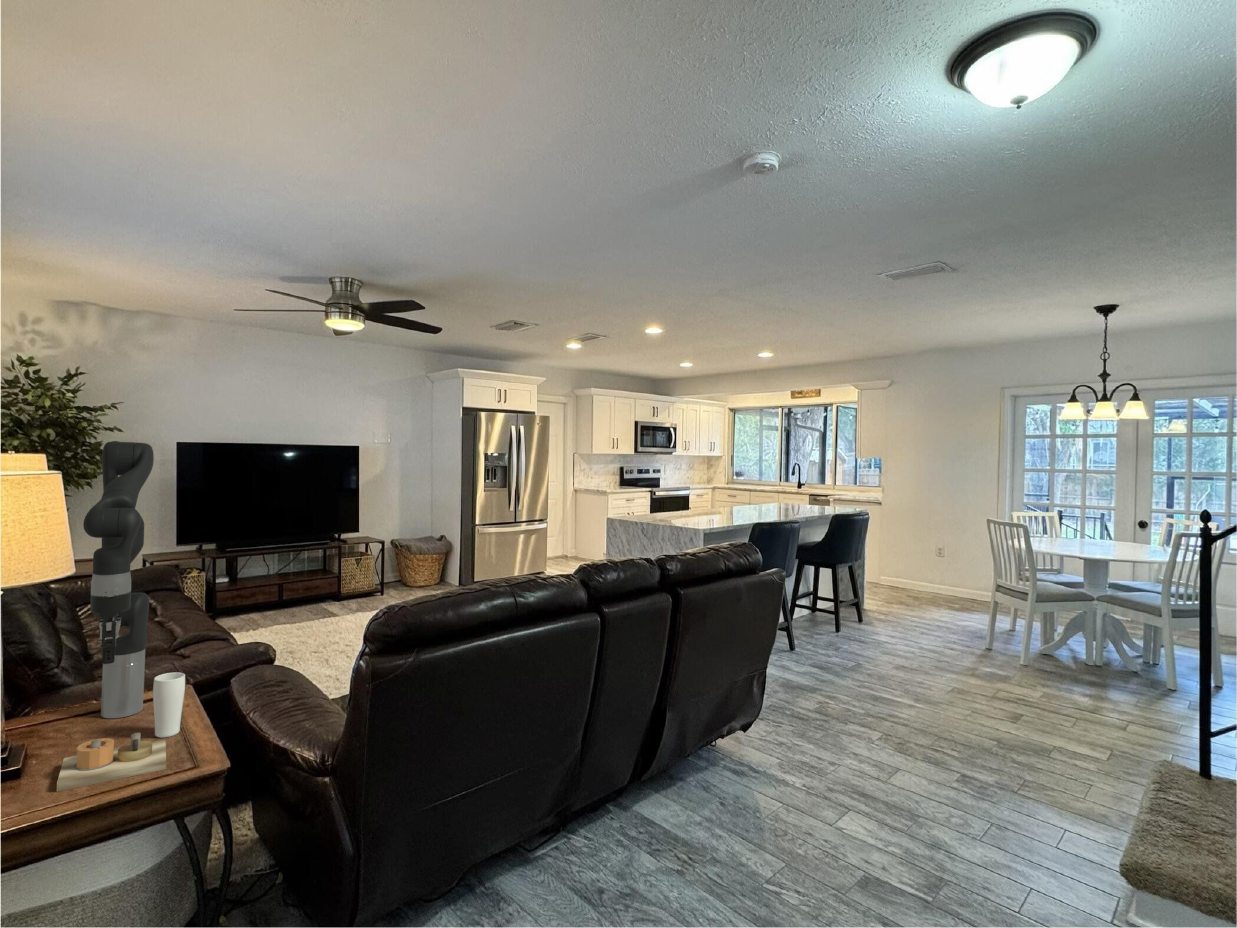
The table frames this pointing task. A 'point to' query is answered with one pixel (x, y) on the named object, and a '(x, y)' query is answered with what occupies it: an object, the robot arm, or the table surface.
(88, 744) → the gear
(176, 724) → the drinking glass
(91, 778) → the gear board
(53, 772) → the table surface
